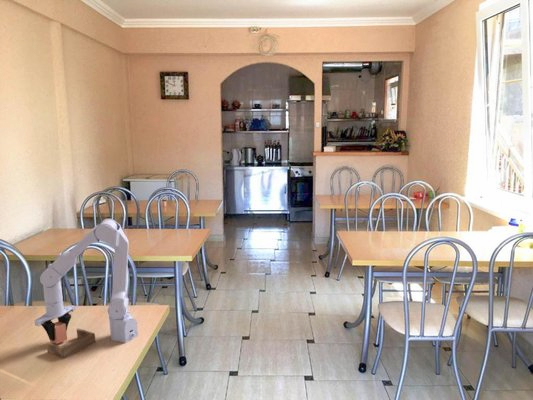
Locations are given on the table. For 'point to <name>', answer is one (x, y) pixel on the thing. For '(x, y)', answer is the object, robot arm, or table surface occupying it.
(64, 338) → the block
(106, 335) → the table surface
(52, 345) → the box
